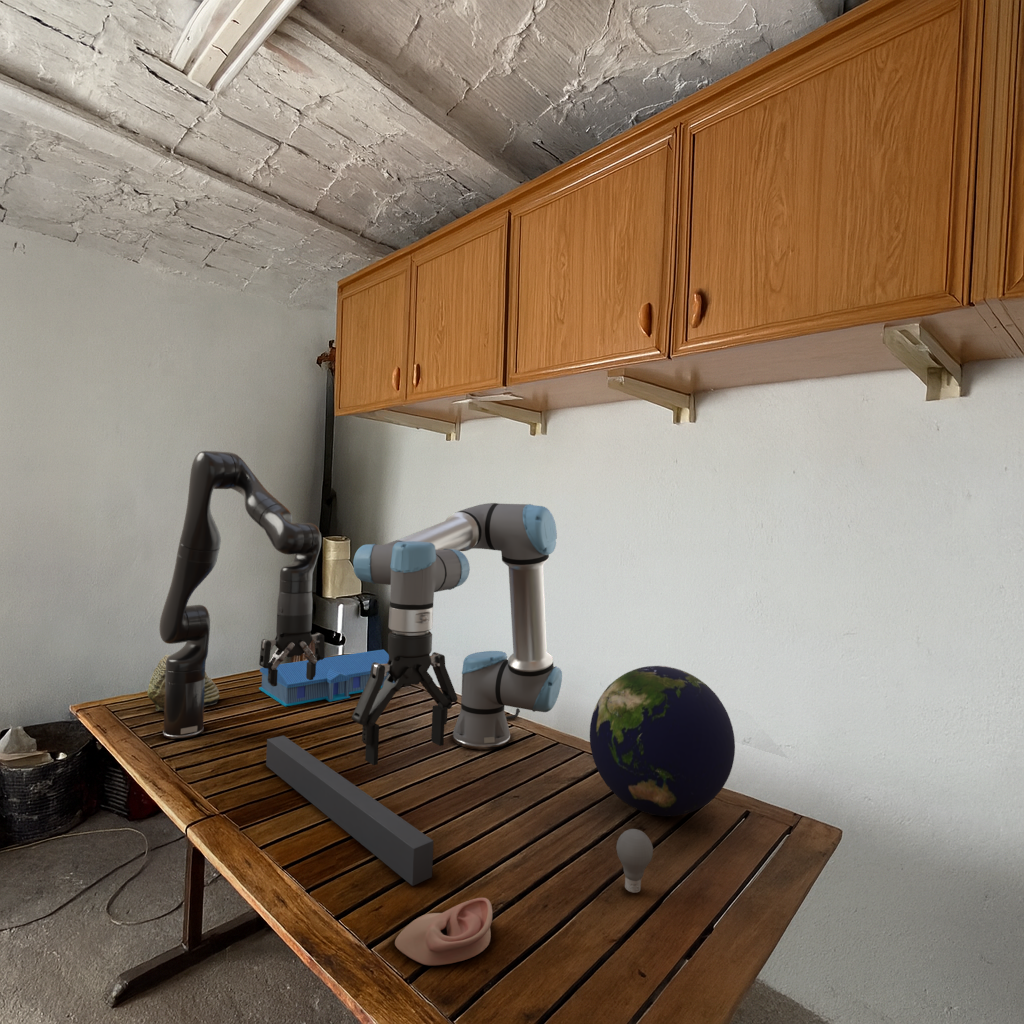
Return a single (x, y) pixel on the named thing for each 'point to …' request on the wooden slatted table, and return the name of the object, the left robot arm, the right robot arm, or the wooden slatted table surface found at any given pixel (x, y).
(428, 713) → the wooden slatted table surface
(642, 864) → the light bulb
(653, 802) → the globe
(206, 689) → the fossil
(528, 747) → the wooden slatted table surface
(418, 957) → the anatomical model
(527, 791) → the wooden slatted table surface
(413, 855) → the beam
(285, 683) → the model building
